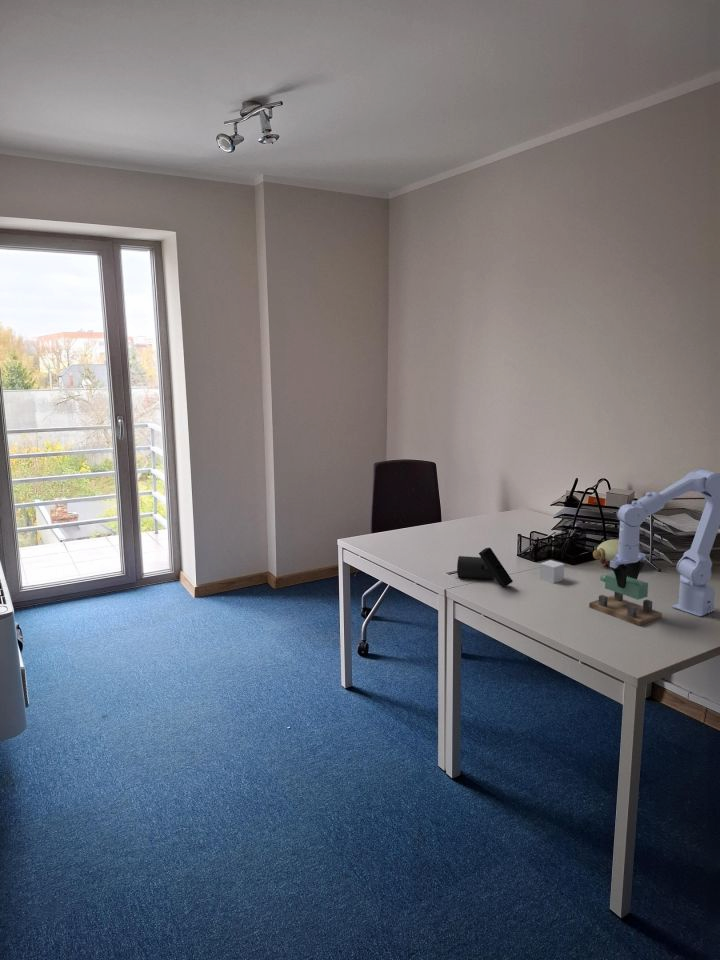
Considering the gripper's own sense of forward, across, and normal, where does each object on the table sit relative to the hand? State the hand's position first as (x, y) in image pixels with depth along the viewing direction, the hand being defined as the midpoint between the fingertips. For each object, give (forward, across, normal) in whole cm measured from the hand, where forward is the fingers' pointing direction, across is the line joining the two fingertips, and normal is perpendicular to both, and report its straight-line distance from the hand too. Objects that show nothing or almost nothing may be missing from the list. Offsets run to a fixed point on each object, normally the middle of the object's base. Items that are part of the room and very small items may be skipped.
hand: (626, 585), depth 202 cm
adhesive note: (+9, -4, -34) cm, 35 cm away
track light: (+9, +17, -47) cm, 50 cm away
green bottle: (+2, 0, -2) cm, 3 cm away
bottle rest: (+8, +1, 0) cm, 8 cm away
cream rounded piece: (+9, -36, -32) cm, 49 cm away
